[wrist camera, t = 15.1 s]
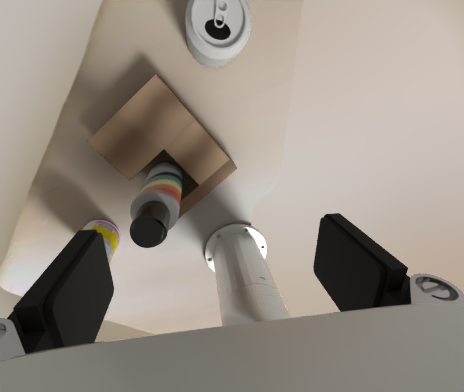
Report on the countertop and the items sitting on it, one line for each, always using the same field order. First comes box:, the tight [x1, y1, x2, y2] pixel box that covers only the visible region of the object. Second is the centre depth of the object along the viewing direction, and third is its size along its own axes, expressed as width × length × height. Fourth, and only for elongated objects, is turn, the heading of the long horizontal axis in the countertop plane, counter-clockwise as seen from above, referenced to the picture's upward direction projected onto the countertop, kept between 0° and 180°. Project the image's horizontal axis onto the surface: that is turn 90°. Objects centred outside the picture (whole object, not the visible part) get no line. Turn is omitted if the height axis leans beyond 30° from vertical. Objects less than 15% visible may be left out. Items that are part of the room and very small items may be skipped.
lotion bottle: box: [130, 162, 183, 248], centre depth 35 cm, size 6×6×20 cm
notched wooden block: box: [87, 74, 237, 219], centre depth 41 cm, size 18×14×4 cm
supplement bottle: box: [81, 220, 120, 262], centre depth 40 cm, size 7×7×13 cm
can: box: [185, 0, 252, 68], centre depth 32 cm, size 8×8×12 cm
